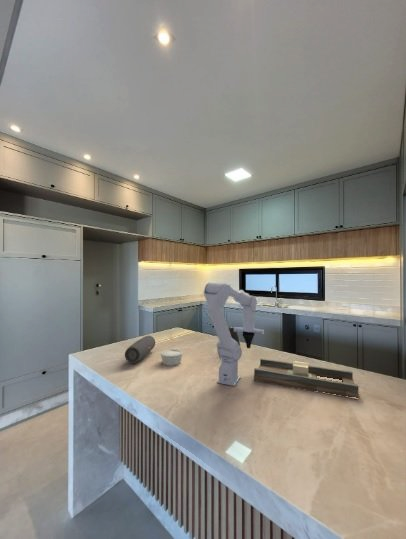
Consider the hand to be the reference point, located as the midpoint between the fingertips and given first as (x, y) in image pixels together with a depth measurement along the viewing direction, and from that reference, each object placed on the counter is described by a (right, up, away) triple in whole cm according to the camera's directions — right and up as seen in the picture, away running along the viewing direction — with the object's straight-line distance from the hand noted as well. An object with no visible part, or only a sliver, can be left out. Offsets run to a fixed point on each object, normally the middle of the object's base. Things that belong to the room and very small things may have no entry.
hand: (248, 347), depth 118 cm
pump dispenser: (-5, -11, +24) cm, 27 cm away
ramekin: (-39, -11, +9) cm, 41 cm away
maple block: (+20, -8, -13) cm, 25 cm away
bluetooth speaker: (-57, -11, +16) cm, 60 cm away
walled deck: (+21, -10, -13) cm, 27 cm away
